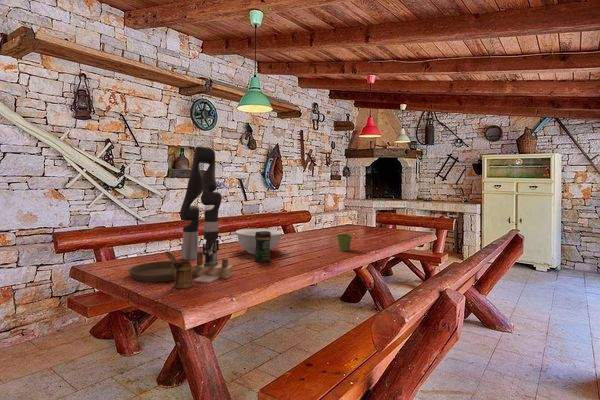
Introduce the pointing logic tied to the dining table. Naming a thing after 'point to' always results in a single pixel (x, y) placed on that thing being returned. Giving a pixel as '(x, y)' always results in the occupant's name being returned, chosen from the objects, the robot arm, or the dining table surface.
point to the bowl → (249, 241)
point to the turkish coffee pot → (181, 273)
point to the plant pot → (344, 241)
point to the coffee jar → (262, 246)
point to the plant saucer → (153, 271)
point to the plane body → (211, 268)
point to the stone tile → (206, 279)
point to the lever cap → (213, 258)
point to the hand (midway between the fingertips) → (210, 261)
